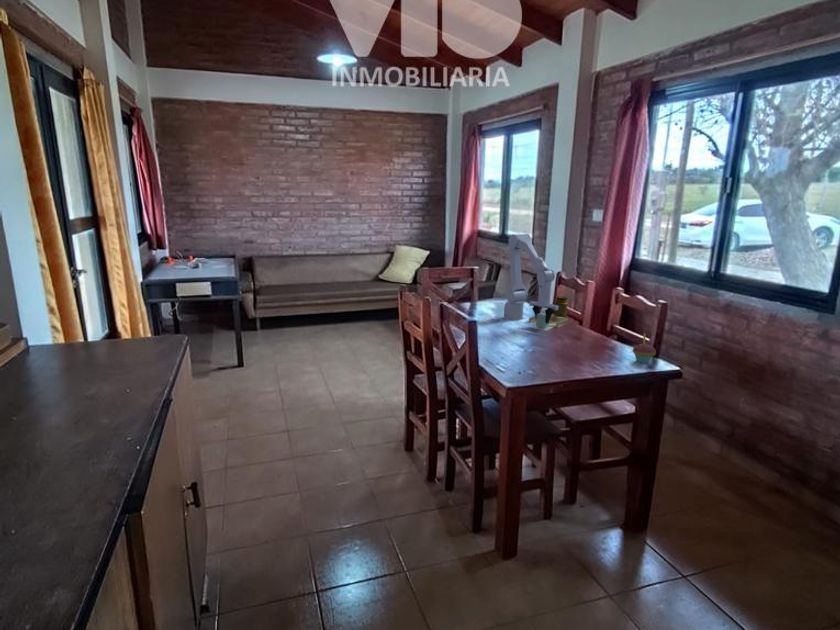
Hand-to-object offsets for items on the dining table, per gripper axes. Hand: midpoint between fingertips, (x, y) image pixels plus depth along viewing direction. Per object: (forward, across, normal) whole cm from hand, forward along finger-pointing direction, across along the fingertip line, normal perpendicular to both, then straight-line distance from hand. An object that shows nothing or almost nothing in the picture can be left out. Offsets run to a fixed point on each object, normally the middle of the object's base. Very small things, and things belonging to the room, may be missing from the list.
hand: (542, 322), depth 251 cm
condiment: (+4, +2, -22) cm, 22 cm away
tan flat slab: (+3, +2, -11) cm, 12 cm away
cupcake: (+3, -54, +16) cm, 56 cm away
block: (+2, 0, 0) cm, 2 cm away
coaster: (+3, 0, 0) cm, 3 cm away
